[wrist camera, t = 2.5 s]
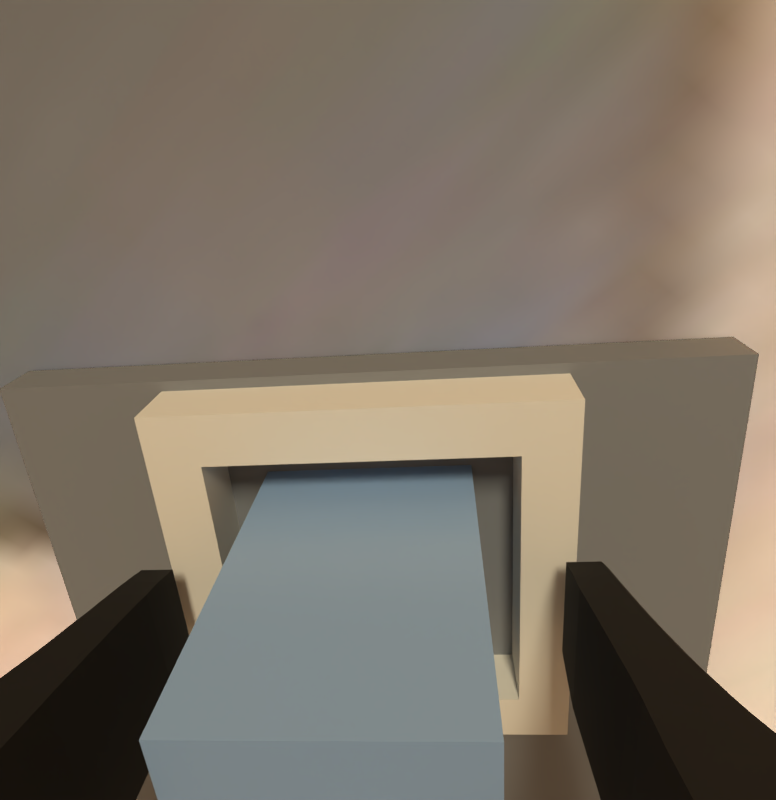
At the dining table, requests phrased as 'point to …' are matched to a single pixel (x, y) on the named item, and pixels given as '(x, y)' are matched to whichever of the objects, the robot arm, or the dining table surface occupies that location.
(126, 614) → the robot arm
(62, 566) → the panel
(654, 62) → the dining table surface
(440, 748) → the plug
